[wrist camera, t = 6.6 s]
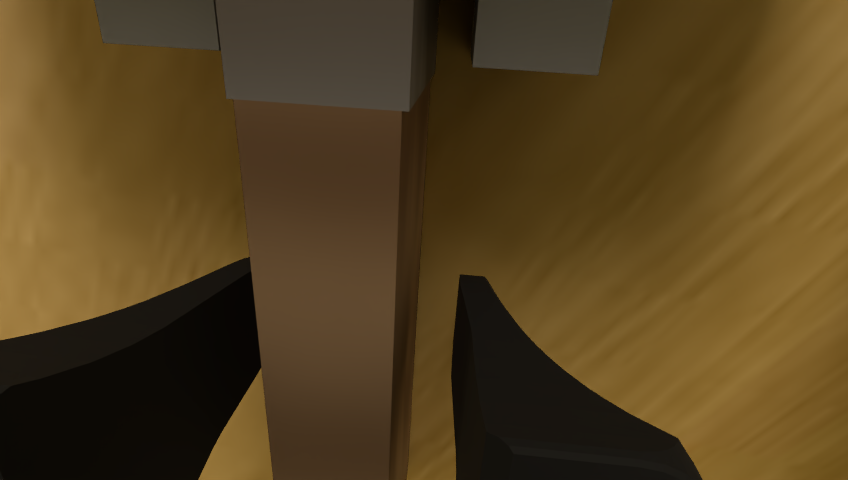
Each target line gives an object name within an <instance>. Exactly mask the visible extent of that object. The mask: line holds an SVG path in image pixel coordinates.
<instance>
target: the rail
mask: <svg viewBox="0 0 848 480" xmlns="http://www.w3.org/2000/svg"><path fill="white" fill-rule="evenodd" d="M215 1H216V10H217V19H218V28H219V37H220V46H221V55H222V64H223V73H224V82H225V91H226V99H233V102H234V111H235V121H236V130H237V140H238V149H239V159H240V168H241V178H242V187H243V197H244V206H245V215H246V225H247V234H248V244H249V253H250V263H251V272H252V282H253V291H254V301H255V310H256V320H257V329H258V339H259V348H260V358H261V367H262V377H263V386H264V395H265V405H266V414H267V424H268V433H269V443H270V452H271V462H272V471H273V480H406V477H407V470H408V456H409V439H410V422H411V405H412V388H413V371H414V354H415V337H416V320H417V303H418V286H419V269H420V252H421V235H422V218H423V201H424V184H425V166H426V149H427V132H428V115H429V98H430V81H431V78H432V77H433V75H434V74H435V64H436V48H437V32H438V16H439V0H215Z"/></svg>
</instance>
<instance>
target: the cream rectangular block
mask: <svg viewBox="0 0 848 480" xmlns="http://www.w3.org/2000/svg"><path fill="white" fill-rule="evenodd" d="M94 1H95V6H96V11H97V15H98V20H99V25H100V30H101V35H102V40H103V43H111V44H126V45H142V46H157V47H172V48H187V49H203V50H218V51H220V50H221V46H220V37H219V28H218V19H217V10H216V1H215V0H94ZM612 2H613V0H475V6H474V17H473V28H472V39H471V50H470V54H471V61H472V67H478V68H493V69H508V70H524V71H539V72H554V73H569V74H585V75H598V73H599V68H600V63H601V58H602V53H603V48H604V43H605V38H606V33H607V27H608V22H609V17H610V12H611V7H612Z"/></svg>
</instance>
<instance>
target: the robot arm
mask: <svg viewBox="0 0 848 480" xmlns="http://www.w3.org/2000/svg"><path fill="white" fill-rule="evenodd" d="M260 369H261V358H260V348H259V339H258V329H257V320H256V310H255V301H254V291H253V282H252V272H251V263H250V257H248V258H244V259H242V260H239V261H237V262H234V263H232V264H229V265H227V266H225V267H223V268H220V269H218V270H216V271H214V272H212V273H209V274H207V275H205V276H203V277H201V278H198V279H196V280H194V281H192V282H190V283H187V284H185V285H183V286H180V287H178V288H175V289H173V290H171V291H168V292H166V293H163V294H161V295H158V296H156V297H154V298H151V299H149V300H146V301H144V302H141V303H138V304H136V305H133V306H130V307H127V308H124V309H121V310H118V311H115V312H112V313H109V314H106V315H103V316H99V317H96V318H93V319H89V320H86V321H82V322H78V323H74V324H70V325H66V326H62V327H58V328H55V329H51V330H47V331H43V332H39V333H34V334H30V335H25V336H20V337H15V338H10V339H5V340H0V480H198V479H199V477H200V475H201V472H202V470H203V468H204V466H205V464H206V462H207V460H208V458H209V456H210V453H211V451H212V449H213V447H214V445H215V443H216V442H217V440H218V438H219V436H220V434H221V433H222V431H223V429H224V427H225V426H226V424H227V423H228V421H229V419H230V418H231V416H232V414H233V413H234V411H235V410H236V408H237V406H238V405H239V403H240V401H241V400H242V398H243V397H244V395H245V393H246V392H247V390H248V388H249V387H250V385H251V384H252V382H253V380H254V379H255V377H256V375H257V374H258V372H259V370H260ZM451 380H452V397H453V413H454V429H455V445H456V480H702V478H701V476H700V474H699V472H698V470H697V468H696V467H695V465H694V463H693V461H692V460H691V458H690V457H689V455H688V454H687V452H686V450H685V449H684V447H683V446H682V444H681V442H680V441H679V439H678V438H676V437H674V436H672V435H670V434H668V433H666V432H664V431H662V430H660V429H658V428H657V427H655V426H653V425H651V424H649V423H647V422H645V421H643V420H641V419H639V418H637V417H635V416H633V415H631V414H629V413H627V412H626V411H624V410H622V409H621V408H619V407H617V406H616V405H614V404H612V403H611V402H609V401H607V400H606V399H604V398H602V397H601V396H599V395H598V394H596V393H595V392H593V391H592V390H590V389H589V388H587V387H586V386H585V385H583V384H582V383H580V382H579V381H578V380H576V379H575V378H574V377H572V376H571V375H570V374H568V373H567V372H566V371H565V370H563V369H562V368H561V367H560V366H558V365H557V364H556V363H555V362H554V361H553V360H552V359H550V358H549V357H548V356H547V355H546V354H545V353H544V352H543V351H542V350H541V349H539V348H538V347H537V346H536V345H535V344H534V343H533V342H532V341H531V339H530V338H529V337H528V336H527V335H526V334H525V333H524V332H523V330H522V329H521V328H520V327H519V326H518V324H517V323H516V322H515V320H514V319H513V318H512V316H511V315H510V314H509V312H508V311H507V310H506V308H505V307H504V306H503V304H502V303H501V301H500V300H499V298H498V297H497V295H496V294H495V292H494V290H493V289H492V287H491V285H490V284H489V282H488V280H487V279H486V278H485V277H483V276H472V275H460V278H459V288H458V298H457V308H456V319H455V329H454V339H453V354H452V372H451Z"/></svg>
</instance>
